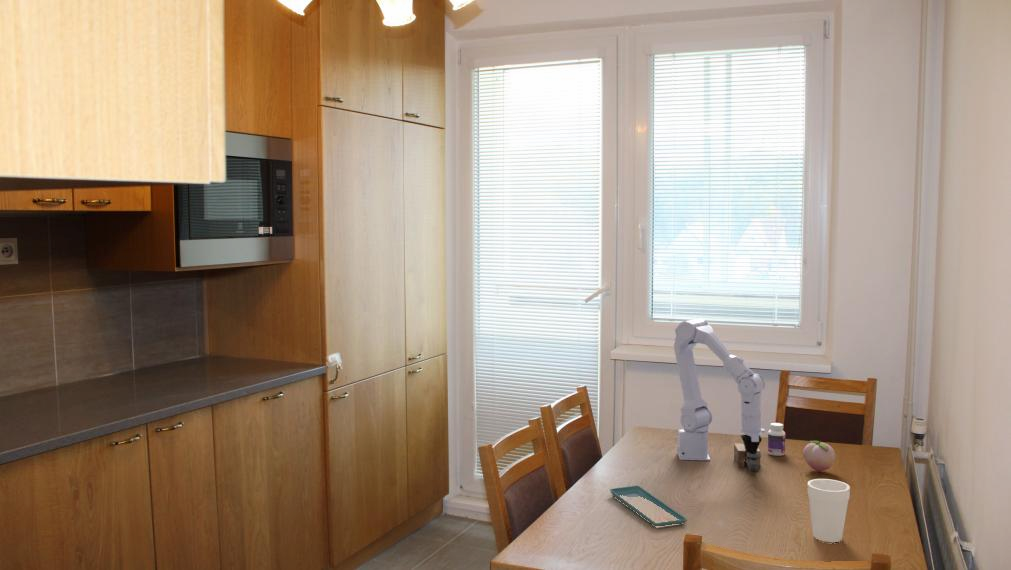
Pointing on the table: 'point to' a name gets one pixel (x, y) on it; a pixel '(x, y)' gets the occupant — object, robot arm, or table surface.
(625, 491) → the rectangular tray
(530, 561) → the table surface
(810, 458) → the decorative fruit
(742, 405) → the robot arm
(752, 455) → the handle rod
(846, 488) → the foam cup
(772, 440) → the pill bottle
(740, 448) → the wooden mallet head
